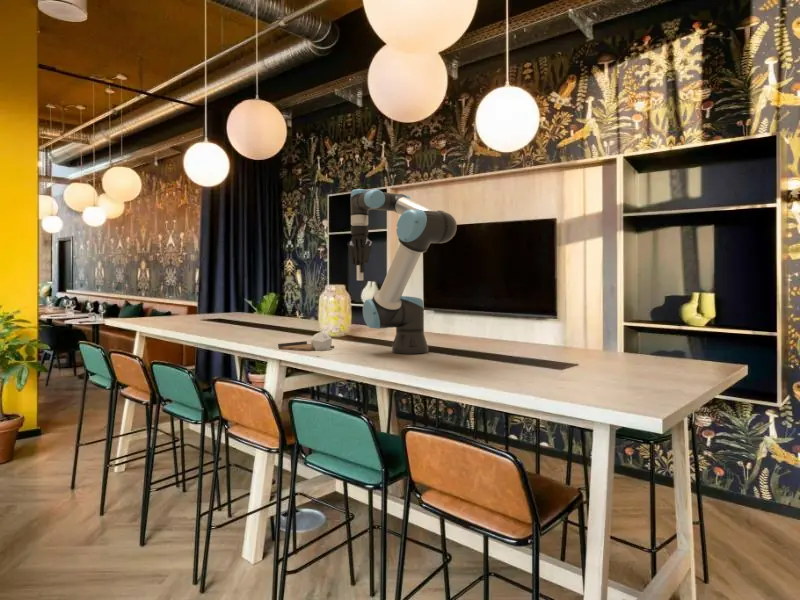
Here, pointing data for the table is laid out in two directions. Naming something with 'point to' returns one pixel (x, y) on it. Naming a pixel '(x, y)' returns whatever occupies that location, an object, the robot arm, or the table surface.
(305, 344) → the board
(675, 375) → the table surface
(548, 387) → the table surface
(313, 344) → the die
